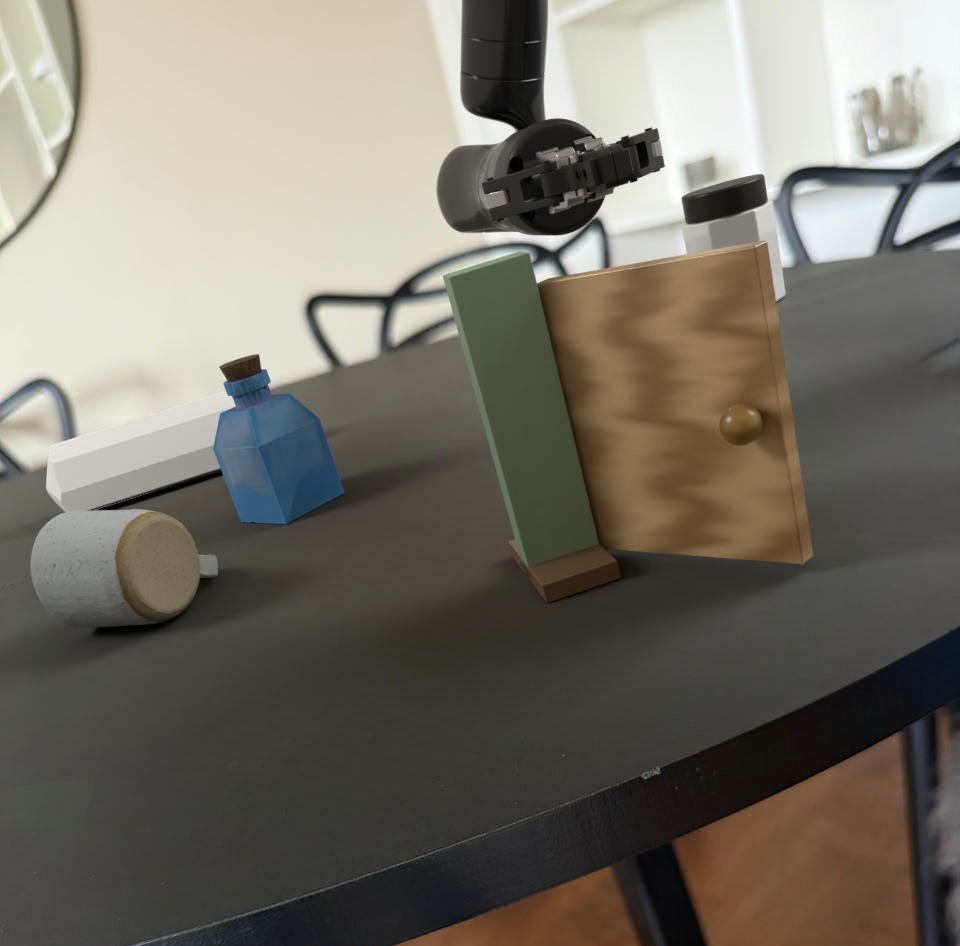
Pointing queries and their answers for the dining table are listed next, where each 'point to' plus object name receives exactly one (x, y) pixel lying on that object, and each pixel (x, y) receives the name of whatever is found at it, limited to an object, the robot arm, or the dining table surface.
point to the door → (682, 405)
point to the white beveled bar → (136, 455)
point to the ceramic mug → (116, 567)
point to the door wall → (528, 425)
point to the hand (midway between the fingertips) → (615, 166)
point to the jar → (733, 220)
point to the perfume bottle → (271, 449)
